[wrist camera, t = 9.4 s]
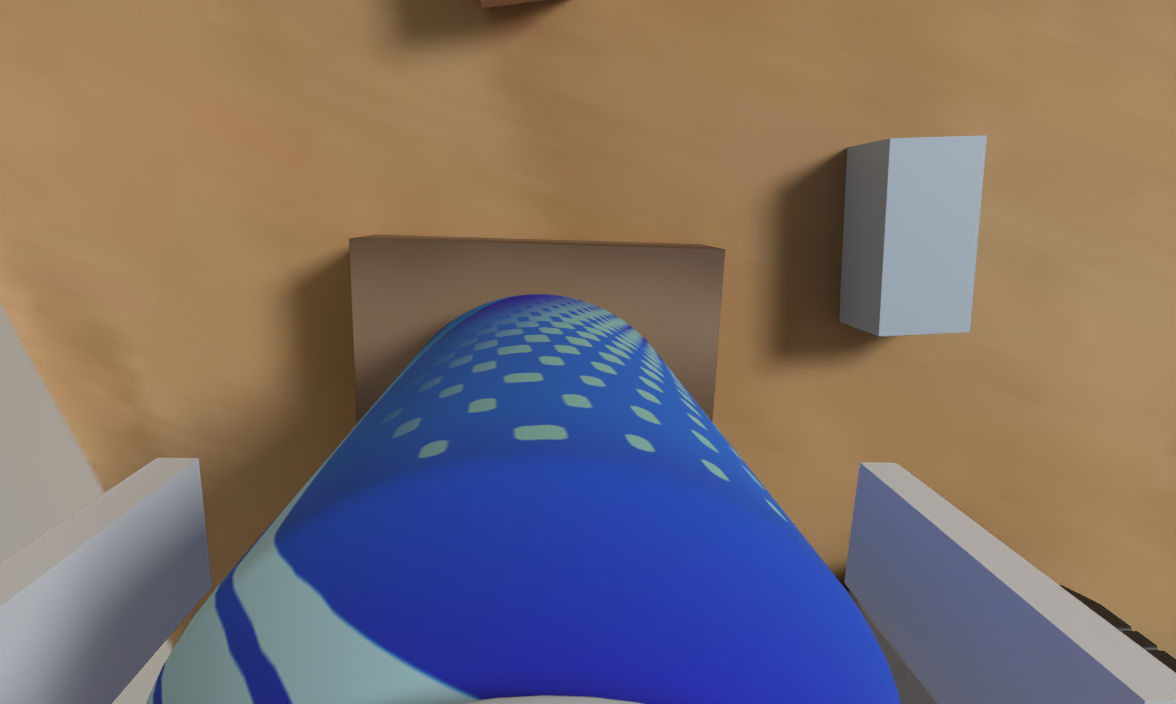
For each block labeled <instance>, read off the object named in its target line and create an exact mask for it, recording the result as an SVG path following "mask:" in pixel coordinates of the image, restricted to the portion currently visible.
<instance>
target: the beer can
mask: <svg viewBox="0 0 1176 704" xmlns="http://www.w3.org/2000/svg"><path fill="white" fill-rule="evenodd" d="M147 704H901V702H900V697H899V693H898V690H897V687H896V684H895V681H894V679H893V676H892V673H891V670H890V668H889V665H888V662H887V660H886V658H885V656H884V654H883V652H882V650H881V648H880V646H879V644H878V642H877V640H876V638H875V636H874V634H873V632H872V630H871V628H870V627H869V625H868V623H867V621H866V619H865V618H864V616H863V615H862V613H861V612H860V610H859V609H858V607H857V606H856V604H855V603H854V601H853V600H852V598H851V596H850V595H849V593H848V592H847V590H846V589H845V588H844V587H843V585H842V584H841V583H840V582H839V580H838V579H837V578H836V577H835V575H834V574H833V573H832V572H831V570H830V569H829V568H828V567H827V565H826V564H825V563H824V562H823V560H822V559H821V558H820V557H819V555H818V554H817V553H816V552H815V550H814V549H813V548H812V547H811V545H810V544H809V543H808V542H807V540H806V539H805V538H804V537H803V535H802V534H801V533H800V532H799V530H798V529H797V528H796V527H795V525H794V524H793V523H792V522H791V520H790V519H789V518H788V516H787V515H786V514H785V513H784V511H783V510H782V509H781V508H780V506H779V505H778V504H777V503H776V501H775V500H774V499H773V498H772V496H771V495H770V494H769V493H768V491H767V490H766V489H765V488H764V486H763V485H762V484H761V483H760V481H759V480H758V479H757V478H756V476H755V475H754V474H753V473H752V471H751V470H750V469H749V468H748V466H747V465H746V464H745V463H744V461H743V460H742V459H741V458H740V456H739V455H738V454H737V453H736V451H735V450H734V449H733V448H732V446H731V445H730V444H729V443H728V441H727V440H726V439H725V438H724V436H723V435H722V434H721V433H720V431H719V430H718V429H717V427H716V426H715V425H714V424H713V422H712V421H711V420H710V419H709V417H708V416H707V415H706V414H705V412H704V411H703V410H702V409H701V407H700V406H699V405H698V404H697V402H696V401H695V400H694V399H693V397H692V396H691V395H690V394H689V392H688V391H687V390H686V389H685V387H684V386H683V385H682V384H681V382H680V381H679V380H678V379H677V377H676V376H675V375H674V374H673V372H672V371H671V370H670V369H669V367H668V366H667V365H666V364H665V362H664V361H663V360H662V359H661V357H660V356H659V355H658V354H657V352H656V351H655V350H654V349H653V347H652V346H651V345H650V344H649V343H648V341H647V340H646V339H645V338H644V337H643V336H642V335H641V334H640V333H639V332H638V331H636V330H635V329H634V328H633V327H631V326H630V325H629V324H628V323H626V322H625V321H623V320H622V319H620V318H619V317H617V316H616V315H614V314H612V313H610V312H608V311H607V310H605V309H603V308H601V307H598V306H596V305H593V304H591V303H588V302H585V301H581V300H578V299H574V298H570V297H564V296H559V295H547V294H528V295H519V296H512V297H507V298H502V299H498V300H495V301H492V302H489V303H486V304H483V305H481V306H478V307H476V308H474V309H471V310H470V311H468V312H466V313H464V314H462V315H461V316H459V317H457V318H456V319H454V320H453V321H451V322H450V323H449V324H447V325H446V326H445V327H443V328H442V329H441V330H440V331H439V332H438V333H436V334H435V335H434V336H433V337H432V338H431V339H430V340H429V341H428V342H427V344H426V345H425V346H424V347H423V348H422V349H421V350H420V351H419V353H418V354H417V355H416V356H415V357H414V358H413V360H412V361H411V362H410V363H409V364H408V365H407V367H406V368H405V369H404V370H403V371H402V372H401V374H400V375H399V376H398V377H397V378H396V379H395V381H394V382H393V383H392V384H391V385H390V386H389V388H388V389H387V390H386V391H385V392H384V393H383V395H382V396H381V397H380V398H379V399H378V400H377V401H376V403H375V404H374V405H373V406H372V407H371V408H370V410H369V411H368V412H367V413H366V414H365V415H364V417H363V418H362V419H361V420H360V421H359V422H358V424H357V425H356V426H355V427H354V428H353V429H352V431H351V432H350V433H349V434H348V435H347V436H346V438H345V439H344V440H343V441H342V442H341V443H340V445H339V446H338V447H337V448H336V449H335V450H334V452H333V453H332V454H331V455H330V456H329V457H328V458H327V460H326V461H325V462H324V463H323V464H322V465H321V467H320V468H319V469H318V470H317V471H316V472H315V474H314V475H313V476H312V477H311V478H310V479H309V481H308V482H307V483H306V484H305V485H304V486H303V488H302V489H301V490H300V491H299V492H298V493H297V495H296V496H295V497H294V498H293V499H292V500H291V502H290V503H289V504H288V505H287V506H286V507H285V508H284V510H283V511H282V512H281V513H280V514H279V515H278V517H277V518H276V519H275V520H274V521H273V522H272V524H271V525H270V526H269V527H268V528H267V529H266V531H265V532H264V533H263V534H262V535H261V536H260V538H259V539H258V540H257V541H256V542H255V543H254V545H253V546H252V547H251V548H250V549H249V550H248V552H247V553H246V554H245V555H244V556H243V557H242V559H241V560H240V561H239V562H238V563H237V564H236V565H235V567H234V568H233V569H232V570H231V571H230V572H229V574H228V575H227V576H226V577H225V578H224V579H223V581H222V582H221V583H220V584H219V585H218V586H217V588H216V589H215V590H214V591H213V592H212V594H211V595H210V596H209V598H208V599H207V600H206V602H205V603H204V604H203V605H202V607H201V608H200V609H199V611H198V612H197V613H196V614H195V616H194V617H193V618H192V620H191V621H190V623H189V624H188V626H187V628H186V629H185V631H184V632H183V634H182V636H181V637H180V639H179V641H178V642H177V644H176V646H175V647H174V649H173V651H172V652H171V654H170V655H169V657H168V659H167V661H166V662H165V664H164V665H163V667H162V669H161V672H160V674H159V676H158V678H157V680H156V683H155V685H154V687H153V689H152V691H151V693H150V696H149V698H148V700H147Z"/></svg>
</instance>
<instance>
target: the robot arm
mask: <svg viewBox="0 0 1176 704" xmlns="http://www.w3.org/2000/svg"><path fill="white" fill-rule="evenodd" d="M844 583H845V584H846V585H847V587H848V588H849V589H850V591H851V592H852V593H853V594H854V596H855V597H856V598H857V600H858V601H859V602H860V603H861V605H862V606H863V607H864V609H865V610H866V611H867V612H868V614H869V615H870V616H871V618H872V619H873V620H874V621H875V623H876V624H877V625H878V627H879V628H880V629H881V630H882V632H883V633H884V634H885V635H886V637H887V638H888V639H889V641H890V642H891V643H892V644H893V646H894V647H895V648H896V650H897V651H898V652H899V653H900V655H901V656H902V657H903V659H904V660H905V661H906V662H907V664H908V665H909V666H910V668H911V669H912V670H913V671H914V673H915V674H916V675H917V677H918V678H919V679H920V680H921V682H922V683H923V684H924V686H925V687H926V688H927V689H928V691H929V692H930V693H931V695H932V696H933V697H934V698H935V700H936V701H937V702H938V703H939V704H1176V659H1174V658H1173V657H1172V656H1170V655H1169V654H1168V653H1166V652H1165V651H1159V650H1158V649H1157V645H1155V644H1154V643H1152V642H1151V641H1150V640H1148V639H1147V638H1146V637H1144V636H1143V635H1142V634H1140V633H1139V632H1137V631H1132V630H1131V626H1129V625H1128V624H1126V623H1125V622H1124V621H1122V620H1121V619H1120V618H1118V617H1117V616H1116V615H1114V614H1113V613H1111V612H1110V611H1109V610H1107V609H1106V608H1105V607H1103V606H1102V605H1100V604H1099V603H1097V602H1095V601H1093V600H1091V599H1089V598H1087V597H1085V596H1083V595H1081V594H1079V593H1077V592H1074V591H1072V590H1070V589H1068V588H1066V587H1064V586H1062V585H1058V584H1057V583H1055V582H1054V581H1053V580H1051V579H1050V578H1049V577H1047V576H1046V575H1045V574H1043V573H1042V572H1041V571H1039V570H1038V569H1037V568H1035V567H1034V566H1033V565H1031V564H1030V563H1029V562H1027V561H1026V560H1025V559H1023V558H1022V557H1021V556H1019V555H1018V554H1017V553H1015V552H1014V551H1013V550H1011V549H1010V548H1009V547H1008V546H1006V545H1005V544H1004V543H1002V542H1001V541H1000V540H998V539H997V538H996V537H994V536H993V535H992V534H990V533H989V532H988V531H986V530H985V529H984V528H982V527H981V526H980V525H978V524H977V523H976V522H974V521H973V520H972V519H970V518H969V517H968V516H966V515H965V514H964V513H962V512H961V511H960V510H958V509H957V508H956V507H954V506H953V505H952V504H950V503H949V502H948V501H946V500H945V499H944V498H942V497H941V496H940V495H938V494H937V493H936V492H934V491H933V490H932V489H930V488H929V487H928V486H926V485H925V484H924V483H922V482H921V481H920V480H918V479H917V478H916V477H914V476H913V475H912V474H910V473H909V472H908V471H906V470H905V469H904V468H902V467H901V466H900V465H898V464H897V463H860V468H859V476H858V483H857V491H856V498H855V506H854V513H853V521H852V528H851V536H850V543H849V551H848V558H847V566H846V573H845V580H844ZM211 587H212V581H211V572H210V562H209V553H208V543H207V534H206V524H205V515H204V505H203V496H202V486H201V477H200V467H199V458H156V459H154V460H153V461H151V462H150V463H148V464H147V465H145V466H144V467H142V468H141V469H139V470H138V471H136V472H135V473H133V474H132V475H130V476H129V477H127V478H126V479H124V480H123V481H121V482H120V483H119V484H117V485H116V486H114V487H113V488H111V489H110V490H108V491H107V492H105V493H104V494H102V495H101V496H99V497H98V498H96V499H95V500H93V501H92V502H90V503H89V504H87V505H86V506H84V507H83V508H81V509H80V510H78V511H77V512H75V513H74V514H72V515H71V516H69V517H68V518H66V519H65V520H63V521H62V522H60V523H59V524H57V525H56V526H54V527H53V528H51V529H50V530H48V531H47V532H45V533H44V534H42V535H41V536H39V537H38V538H36V539H35V540H33V541H32V542H30V543H29V544H27V545H26V546H24V547H23V548H21V549H20V550H18V551H17V552H15V553H14V554H12V555H11V556H9V557H8V558H6V559H5V560H3V561H2V562H0V704H111V703H112V702H113V701H114V700H115V699H116V698H117V697H118V695H119V694H120V693H121V692H122V691H123V690H124V688H125V687H126V686H127V685H128V684H129V683H130V681H131V680H132V679H133V678H134V677H135V676H136V674H137V673H138V672H139V671H140V670H141V669H142V667H143V666H144V665H145V664H146V663H147V662H148V660H149V659H150V658H151V657H152V656H153V655H154V653H155V652H156V651H157V650H158V649H159V648H160V646H161V645H162V644H163V643H164V642H165V641H166V639H167V638H168V637H169V636H170V635H171V634H172V632H173V631H174V630H175V629H176V628H177V627H178V626H179V624H180V623H181V622H182V621H183V620H184V619H185V617H186V616H187V615H188V614H189V613H190V612H191V610H192V609H193V608H194V607H195V606H196V605H197V603H198V602H199V601H200V600H201V599H202V598H203V596H204V595H205V594H206V593H207V592H208V591H209V589H210V588H211Z"/></svg>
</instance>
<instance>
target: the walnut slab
mask: <svg viewBox="0 0 1176 704" xmlns="http://www.w3.org/2000/svg"><path fill="white" fill-rule="evenodd" d="M349 248H350V272H351V295H352V318H353V342H354V365H355V389H356V412H357V424H358V422H359V421H360V420H361V419H362V418H363V417H364V415H365V414H366V413H367V412H368V411H369V410H370V408H371V407H372V406H373V405H374V404H375V403H376V401H377V400H378V399H379V398H380V397H381V396H382V395H383V393H384V392H385V391H386V390H387V389H388V388H389V386H390V385H391V384H392V383H393V382H394V381H395V379H396V378H397V377H398V376H399V375H400V374H401V372H402V371H403V370H404V369H405V368H406V367H407V365H408V364H409V363H410V362H411V361H412V360H413V358H414V357H415V356H416V355H417V354H418V353H419V351H420V350H421V349H422V348H423V347H424V346H425V345H426V344H427V342H428V341H429V340H430V339H431V338H432V337H433V336H434V335H435V334H436V333H438V332H439V331H440V330H441V329H442V328H443V327H445V326H446V325H447V324H449V323H450V322H451V321H453V320H454V319H456V318H457V317H459V316H461V315H462V314H464V313H466V312H468V311H470V310H471V309H474V308H476V307H478V306H481V305H483V304H486V303H489V302H492V301H495V300H498V299H502V298H507V297H512V296H519V295H528V294H547V295H559V296H564V297H570V298H574V299H578V300H581V301H585V302H588V303H591V304H593V305H596V306H598V307H601V308H603V309H605V310H607V311H608V312H610V313H612V314H614V315H616V316H617V317H619V318H620V319H622V320H623V321H625V322H626V323H628V324H629V325H630V326H631V327H633V328H634V329H635V330H636V331H638V332H639V333H640V334H641V335H642V336H643V337H644V338H645V339H646V340H647V341H648V343H649V344H650V345H651V346H652V347H653V349H654V350H655V351H656V352H657V354H658V355H659V356H660V357H661V359H662V360H663V361H664V362H665V364H666V365H667V366H668V367H669V369H670V370H671V371H672V372H673V374H674V375H675V376H676V377H677V379H678V380H679V381H680V382H681V384H682V385H683V386H684V387H685V389H686V390H687V391H688V392H689V394H690V395H691V396H692V397H693V399H694V400H695V401H696V402H697V404H698V405H699V406H700V407H701V409H702V410H703V411H704V412H705V414H706V415H707V416H708V417H709V419H710V420H711V421H712V417H713V404H714V391H715V377H716V364H717V350H718V337H719V323H720V310H721V297H722V283H723V270H724V256H725V250H724V249H720V248H715V247H711V246H706V245H701V244H667V243H633V242H599V241H566V240H532V239H498V238H464V237H430V236H396V235H371V236H364V237H357V238H351V239H349Z"/></svg>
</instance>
